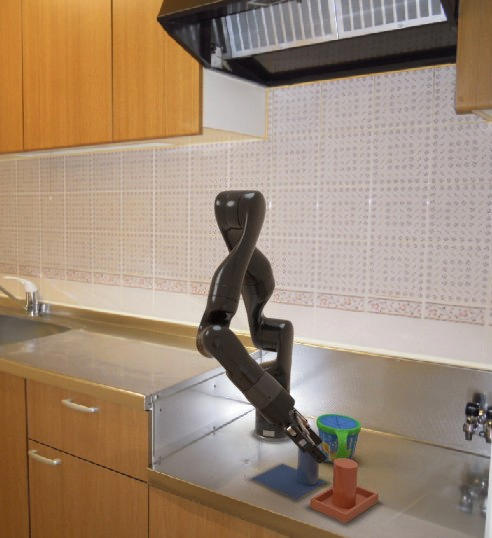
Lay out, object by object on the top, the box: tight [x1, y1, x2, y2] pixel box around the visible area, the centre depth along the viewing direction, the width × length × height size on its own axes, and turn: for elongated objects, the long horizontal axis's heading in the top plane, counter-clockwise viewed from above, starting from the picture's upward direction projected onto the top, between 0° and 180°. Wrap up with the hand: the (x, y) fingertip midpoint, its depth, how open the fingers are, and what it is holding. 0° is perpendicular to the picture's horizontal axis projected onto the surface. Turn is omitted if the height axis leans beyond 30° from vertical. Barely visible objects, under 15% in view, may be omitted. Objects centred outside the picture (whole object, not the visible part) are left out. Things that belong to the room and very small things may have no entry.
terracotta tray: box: [309, 485, 379, 524], centre depth 122 cm, size 13×8×2 cm, turn 130°
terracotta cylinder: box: [332, 458, 359, 509], centre depth 122 cm, size 5×5×9 cm
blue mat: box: [252, 463, 327, 500], centre depth 133 cm, size 12×12×1 cm
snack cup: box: [315, 413, 362, 465], centre depth 144 cm, size 16×10×10 cm
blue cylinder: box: [296, 439, 320, 486], centre depth 132 cm, size 5×5×9 cm
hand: (321, 452), depth 122 cm, fingers open, 8 cm apart
